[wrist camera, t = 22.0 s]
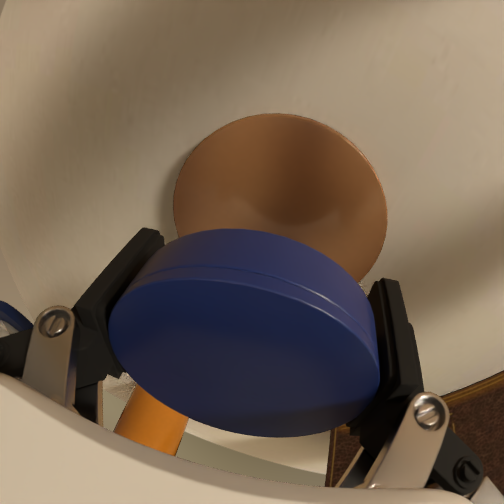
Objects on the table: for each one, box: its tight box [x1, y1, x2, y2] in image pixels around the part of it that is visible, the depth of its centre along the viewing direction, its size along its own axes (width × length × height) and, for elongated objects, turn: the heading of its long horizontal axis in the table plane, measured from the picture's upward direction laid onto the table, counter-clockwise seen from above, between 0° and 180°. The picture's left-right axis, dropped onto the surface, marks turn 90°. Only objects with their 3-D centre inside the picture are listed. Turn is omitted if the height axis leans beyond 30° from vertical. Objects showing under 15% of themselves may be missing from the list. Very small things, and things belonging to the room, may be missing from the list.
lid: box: [108, 228, 380, 437], centre depth 8 cm, size 7×7×2 cm
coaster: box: [173, 113, 387, 283], centre depth 14 cm, size 10×10×1 cm
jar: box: [113, 384, 189, 456], centre depth 24 cm, size 6×6×10 cm
